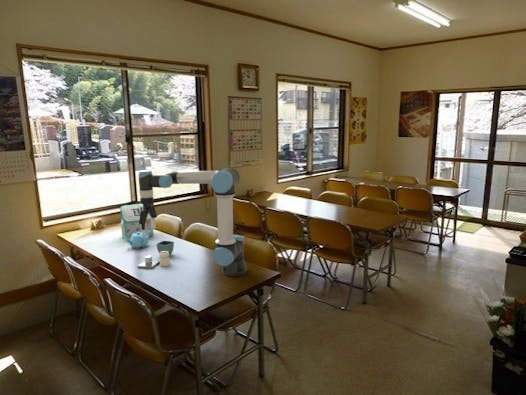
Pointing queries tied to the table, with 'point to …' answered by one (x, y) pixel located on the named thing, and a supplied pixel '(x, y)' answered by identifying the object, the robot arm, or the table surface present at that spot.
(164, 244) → the flower pot
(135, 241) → the teapot
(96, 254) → the table surface
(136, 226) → the lunch bag
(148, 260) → the hub
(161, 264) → the knob
